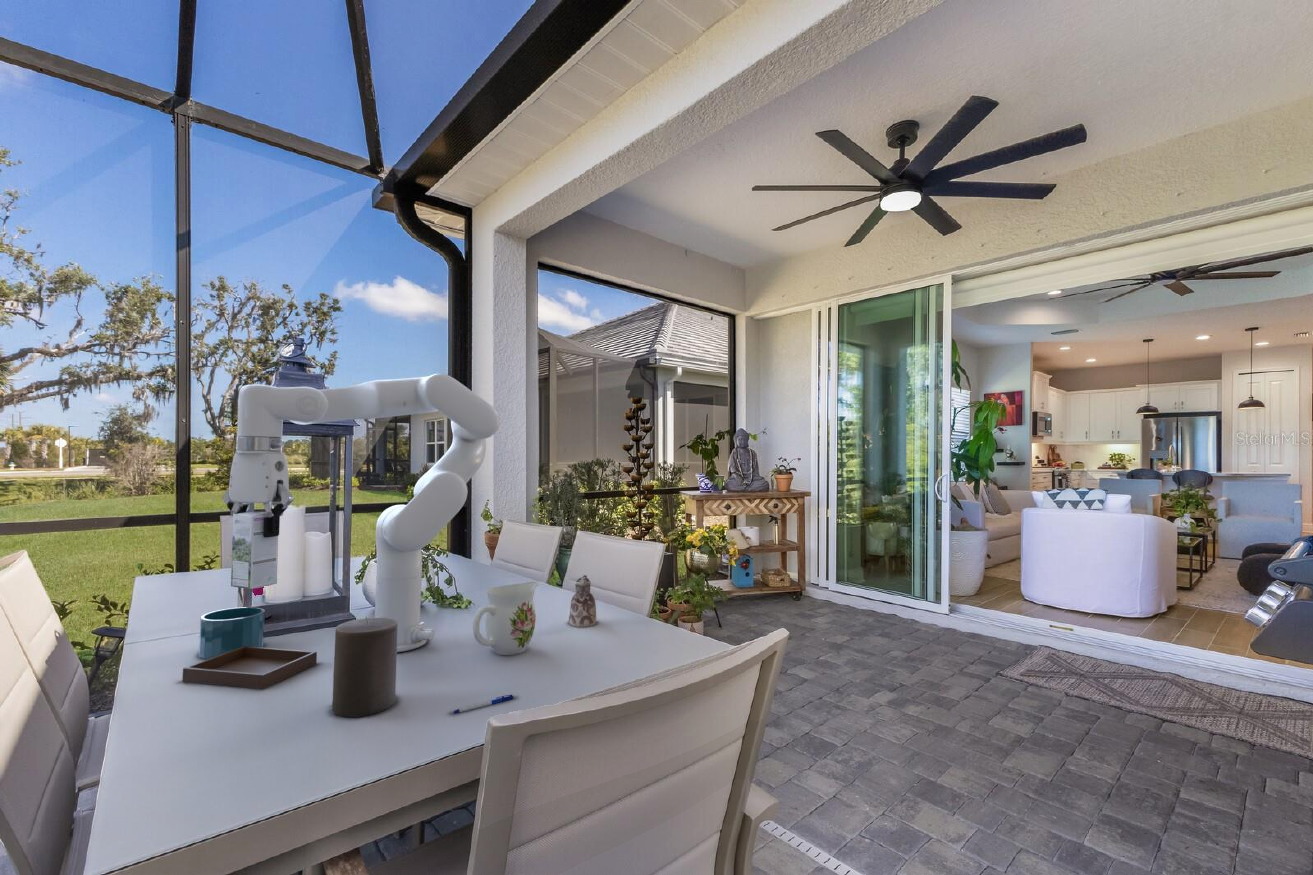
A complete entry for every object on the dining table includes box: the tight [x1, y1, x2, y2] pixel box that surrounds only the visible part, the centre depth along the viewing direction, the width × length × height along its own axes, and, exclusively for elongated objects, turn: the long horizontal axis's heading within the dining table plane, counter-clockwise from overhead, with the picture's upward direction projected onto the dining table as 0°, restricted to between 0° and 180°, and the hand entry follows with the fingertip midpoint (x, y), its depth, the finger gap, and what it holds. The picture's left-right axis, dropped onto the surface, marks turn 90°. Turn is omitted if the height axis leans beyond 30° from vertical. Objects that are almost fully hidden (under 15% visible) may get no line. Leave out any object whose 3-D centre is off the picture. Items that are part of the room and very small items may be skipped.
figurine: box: [568, 574, 597, 628], centre depth 150 cm, size 7×7×12 cm
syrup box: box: [230, 511, 279, 589], centre depth 114 cm, size 6×6×14 cm
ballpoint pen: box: [453, 694, 514, 714], centre depth 99 cm, size 10×1×1 cm, turn 129°
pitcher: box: [472, 581, 540, 656], centre depth 127 cm, size 11×18×14 cm, turn 146°
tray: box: [181, 646, 318, 690], centre depth 112 cm, size 17×13×2 cm
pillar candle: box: [331, 616, 398, 718], centre depth 98 cm, size 10×10×15 cm
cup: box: [198, 606, 266, 660], centre depth 125 cm, size 11×11×8 cm
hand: (256, 535), depth 115 cm, fingers closed on syrup box, 6 cm apart
